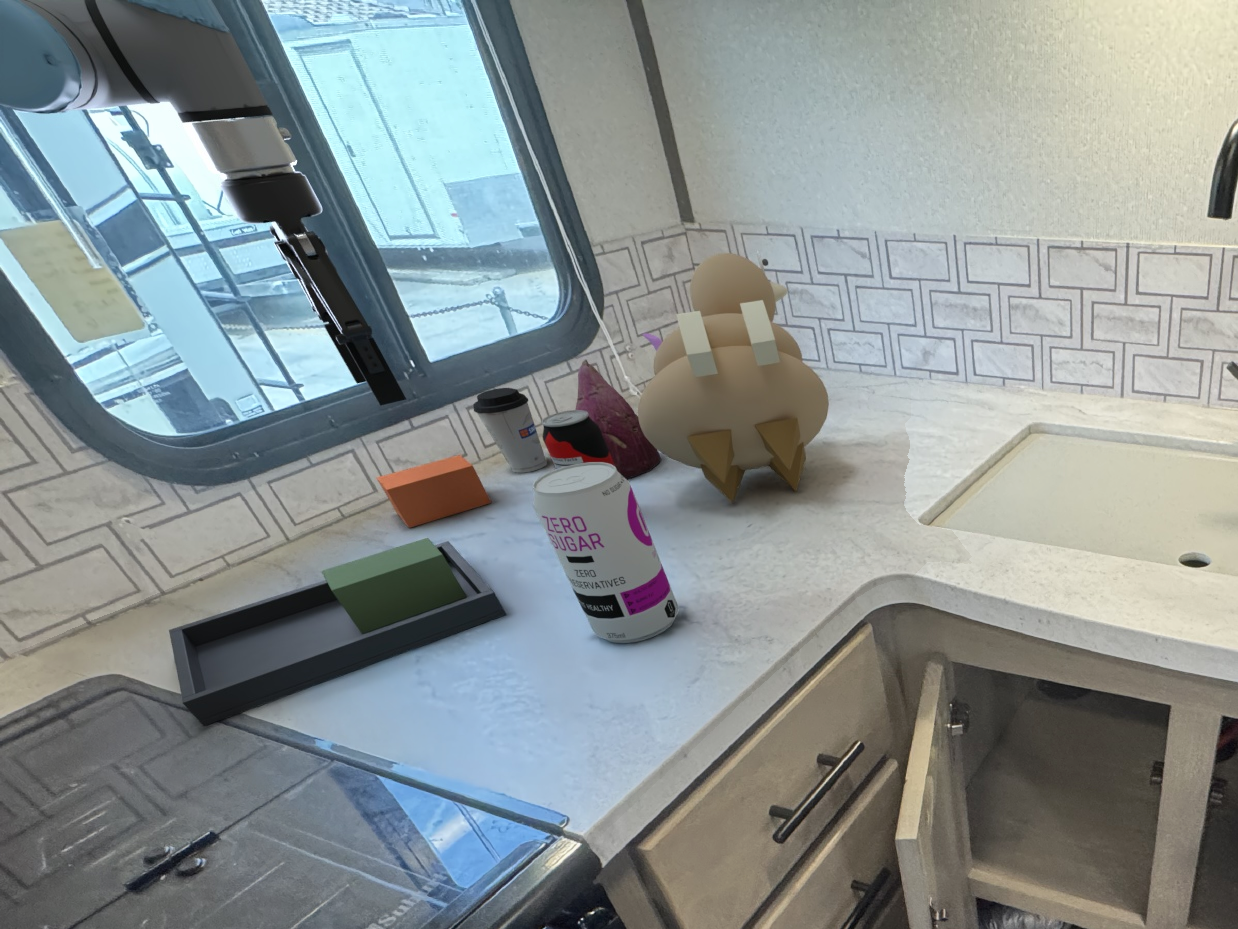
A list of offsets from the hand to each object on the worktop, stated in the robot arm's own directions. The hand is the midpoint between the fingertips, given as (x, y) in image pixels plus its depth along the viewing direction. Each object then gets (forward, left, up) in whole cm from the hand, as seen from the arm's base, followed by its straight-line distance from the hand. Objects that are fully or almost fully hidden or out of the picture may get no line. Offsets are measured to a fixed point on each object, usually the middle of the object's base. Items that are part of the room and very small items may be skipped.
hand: (380, 391), depth 100 cm
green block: (+28, -10, -14) cm, 33 cm away
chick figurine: (+26, +32, -15) cm, 44 cm away
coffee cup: (-7, +13, -15) cm, 21 cm away
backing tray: (+28, -16, -15) cm, 35 cm away
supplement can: (+50, +6, -15) cm, 52 cm away
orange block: (0, 0, -15) cm, 15 cm away
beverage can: (+20, +14, -15) cm, 29 cm away
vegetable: (+5, +22, -15) cm, 27 cm away
